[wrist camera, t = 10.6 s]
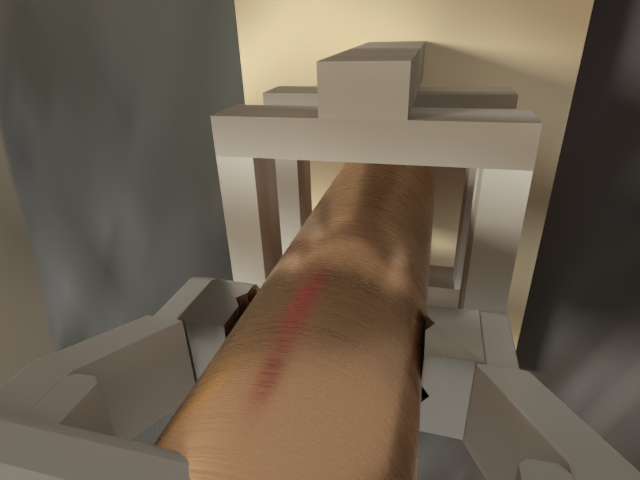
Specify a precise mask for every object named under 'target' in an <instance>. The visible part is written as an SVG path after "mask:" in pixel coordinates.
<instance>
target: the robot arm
mask: <svg viewBox="0 0 640 480" xmlns="http://www.w3.org/2000/svg"><path fill="white" fill-rule="evenodd" d="M259 289H260V288H259V287H258V285H257V284H250V283H243V282H236V281H229V280H222V279H214V278H206V277H198V276H197V277H192V278H190V279H189V280H188V281H187V283H186V284H185V285H184V286H183V287H182V288H181V289H180V290H179V291H178V292H177V293H176V294H175V295H174V296H173V297H172V298H171V299H170V300H169V301H168V302H167V303H166V304H165V305H164V306H163V307H162V308H161V309H160V310H159V311H158V312H157V313H156V314H155V315H154V316H144V317H142V318H139V319H137V320H135V321H132V322H130V323H127V324H125V325H122V326H120V327H117V328H115V329H112V330H110V331H107V332H105V333H102V334H100V335H97V336H95V337H92V338H90V339H87V340H85V341H82V342H80V343H77V344H75V345H72V346H70V347H67V348H65V349H62V350H60V351H58V352H55V353H53V354H50V355H48V356H45V357H43V358H40V359H38V360H35V361H33V362H30V363H29V364H28V365H27V366H26V367H24V368H23V369H22V370H21V371H20V372H19V373H17V374H16V375H15V376H14V377H12V378H11V379H10V380H9V381H8V382H6V384H4V385H3V386H2V387H1V388H0V480H190V477H189V463H188V461H187V459H186V458H185V457H184V456H183V455H181V454H180V453H179V452H178V451H175V450H172V449H169V448H164V447H160V446H155V445H151V444H146V443H142V442H137V441H133V440H131V439H133V438H134V437H135V436H137V435H138V434H140V433H141V432H143V431H144V430H145V429H147V428H148V427H150V426H151V425H152V424H154V423H155V422H157V421H158V420H160V419H161V418H162V417H164V416H165V415H167V414H168V413H169V412H171V411H172V410H174V409H175V408H177V407H178V406H179V405H181V404H182V402H183V401H184V399H185V398H186V396H187V395H188V394H189V392H190V391H191V389H192V388H193V386H194V385H195V383H196V382H197V380H198V379H199V377H200V376H201V374H202V373H203V371H204V370H205V369H206V367H207V366H208V364H209V363H210V361H211V360H212V358H213V357H214V355H215V354H216V352H217V351H218V349H219V348H220V347H221V345H222V344H223V342H224V341H225V339H226V338H227V336H228V335H229V333H230V332H231V330H232V329H233V327H234V326H235V324H236V323H237V322H238V320H239V319H240V317H241V316H242V314H243V313H244V311H245V310H246V308H247V307H248V305H249V304H250V302H251V301H252V299H253V298H254V297H255V295H256V294H257V292H258V291H259ZM421 382H422V397H421V412H420V428H419V431H423V432H428V433H433V434H437V435H442V436H447V437H452V438H456V439H461V440H463V443H464V445H465V446H466V448H467V449H468V451H469V453H470V454H471V456H472V457H473V459H474V461H475V462H476V464H477V466H478V467H479V469H480V470H481V472H482V474H483V475H484V477H485V479H486V480H640V472H639V471H638V470H637V469H636V468H634V467H633V466H632V465H631V464H630V463H629V462H628V461H627V460H626V459H625V458H623V457H622V456H621V455H620V454H619V453H618V452H617V451H616V450H615V449H614V448H612V447H611V446H610V445H609V444H608V443H607V442H606V441H605V440H604V439H603V438H601V437H600V436H599V435H598V434H597V433H596V432H595V431H594V430H593V429H591V428H590V427H589V426H588V425H587V424H586V423H585V422H584V421H583V420H582V419H580V418H579V417H578V416H577V415H576V414H575V413H574V412H573V411H572V410H571V409H569V408H568V407H567V406H566V405H565V404H564V403H563V402H562V401H561V400H560V399H558V398H557V397H556V396H555V395H554V394H553V393H552V392H551V391H550V390H549V389H547V388H546V387H545V386H544V385H543V384H542V383H541V382H540V381H539V380H538V379H536V378H535V377H534V376H533V375H532V374H531V373H530V372H529V371H525V370H520V369H519V364H518V359H517V355H516V350H515V345H514V341H513V336H512V331H511V327H510V322H509V317H508V315H507V314H506V313H505V312H495V311H483V310H479V311H478V310H468V309H458V308H449V307H439V306H429V305H427V310H426V319H425V332H424V349H423V361H422V378H421Z"/></svg>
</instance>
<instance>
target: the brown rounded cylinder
mask: <svg viewBox="0 0 640 480" xmlns="http://www.w3.org/2000/svg"><path fill="white" fill-rule="evenodd" d="M434 196H435V183H434V178H433V174H432V172H431V170H430V168H429V166H417V165H395V164H374V163H352V162H346V163H345V164H344V166H343V167H342V169H341V170H340V172H339V173H338V175H337V176H336V178H335V179H334V180H333V182H332V183H331V185H330V186H329V188H328V189H327V191H326V192H325V194H324V195H323V197H322V198H321V200H320V201H319V203H318V204H317V205H316V207H315V208H314V210H313V211H312V213H311V214H310V216H309V217H308V219H307V220H306V222H305V223H304V225H303V226H302V227H301V229H300V230H299V232H298V233H297V235H296V236H295V238H294V239H293V241H292V242H291V244H290V245H289V247H288V248H287V250H286V251H285V252H284V254H283V255H282V257H281V258H280V260H279V261H278V263H277V264H276V266H275V267H274V269H273V270H272V272H271V273H270V275H269V276H268V277H267V279H266V280H265V282H264V283H263V285H262V286H261V288H260V289H259V291H258V292H257V294H256V295H255V297H254V298H253V299H252V301H251V302H250V304H249V305H248V307H247V308H246V310H245V311H244V313H243V314H242V316H241V317H240V319H239V320H238V322H237V323H236V324H235V326H234V327H233V329H232V330H231V332H230V333H229V335H228V336H227V338H226V339H225V341H224V342H223V344H222V345H221V347H220V348H219V349H218V351H217V352H216V354H215V355H214V357H213V358H212V360H211V361H210V363H209V364H208V366H207V367H206V369H205V370H204V371H203V373H202V374H201V376H200V377H199V379H198V380H197V382H196V383H195V385H194V386H193V388H192V389H191V391H190V392H189V394H188V395H187V396H186V398H185V399H184V401H183V402H182V404H181V405H180V407H179V408H178V410H177V411H176V413H175V414H174V416H173V417H172V418H171V420H170V421H169V423H168V424H167V426H166V427H165V429H164V430H163V432H162V433H161V435H160V436H159V438H158V439H157V441H156V442H155V443H154V445H155V446H160V447H164V448H169V449H172V450H175V451H178V452H179V453H180V454H181V455H183V456H184V457H185V458H186V459H187V461H188V463H189V477H190V480H416V474H417V459H418V443H419V428H420V412H421V397H422V382H421V378H422V361H423V349H424V332H425V319H426V310H427V304H428V289H429V273H430V258H431V242H432V227H433V211H434Z"/></svg>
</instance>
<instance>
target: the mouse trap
mask: <svg viewBox="0 0 640 480" xmlns="http://www.w3.org/2000/svg"><path fill="white" fill-rule="evenodd" d="M234 1H235V11H236V20H237V30H238V39H239V49H240V59H241V68H242V78H243V88H244V97H245V105H234V106H232V107H229V108H227V109H225V110H223V111H220V112H218V113H216V114H213V115H211V116H210V117H211V124H212V131H213V138H214V145H215V152H216V159H217V166H218V173H219V180H220V188H221V195H222V202H223V209H224V216H225V223H226V230H227V237H228V244H229V252H230V259H231V266H232V273H233V280H234V281H236V282H243V283H250V284H257V285H258V287H259V288H261V286H262V285H263V283H264V282H265V280H266V279H267V277H268V276H269V275H270V273H271V272H272V270H273V269H274V267H275V266H276V264H277V263H278V261H279V260H280V258H281V257H282V255H283V254H284V252H285V251H286V250H287V248H288V247H289V245H290V244H291V242H292V241H293V239H294V238H295V236H296V235H297V233H298V232H299V230H300V229H301V227H302V226H303V225H304V223H305V222H306V220H307V219H308V217H309V216H310V214H311V213H312V211H313V210H314V208H315V207H316V205H317V204H318V203H319V201H320V200H321V198H322V197H323V195H324V194H325V192H326V191H327V189H328V188H329V186H330V185H331V183H332V182H333V180H334V179H335V178H336V176H337V175H338V173H339V172H340V170H341V169H342V167H343V166H344V164H345V163H346V162H352V163H374V164H395V165H417V166H429V168H430V170H431V172H432V174H433V178H434V183H435V196H434V211H433V227H432V242H431V258H430V273H429V289H428V304H427V305H429V306H439V307H449V308H458V309H468V310H478V311H479V310H483V311H495V312H505V313H506V314H507V315H508V317H509V322H510V327H511V331H512V336H513V341H514V345H515V350H516V348H517V343H518V339H519V334H520V330H521V326H522V321H523V317H524V312H525V308H526V303H527V299H528V294H529V290H530V285H531V281H532V276H533V272H534V267H535V263H536V258H537V254H538V249H539V245H540V241H541V236H542V232H543V227H544V223H545V218H546V214H547V209H548V205H549V200H550V196H551V191H552V187H553V182H554V178H555V173H556V169H557V164H558V160H559V156H560V151H561V147H562V142H563V138H564V133H565V129H566V124H567V120H568V115H569V111H570V106H571V102H572V97H573V93H574V88H575V84H576V79H577V75H578V71H579V66H580V62H581V57H582V53H583V48H584V44H585V39H586V35H587V30H588V26H589V21H590V17H591V12H592V8H593V3H594V0H234Z"/></svg>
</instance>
